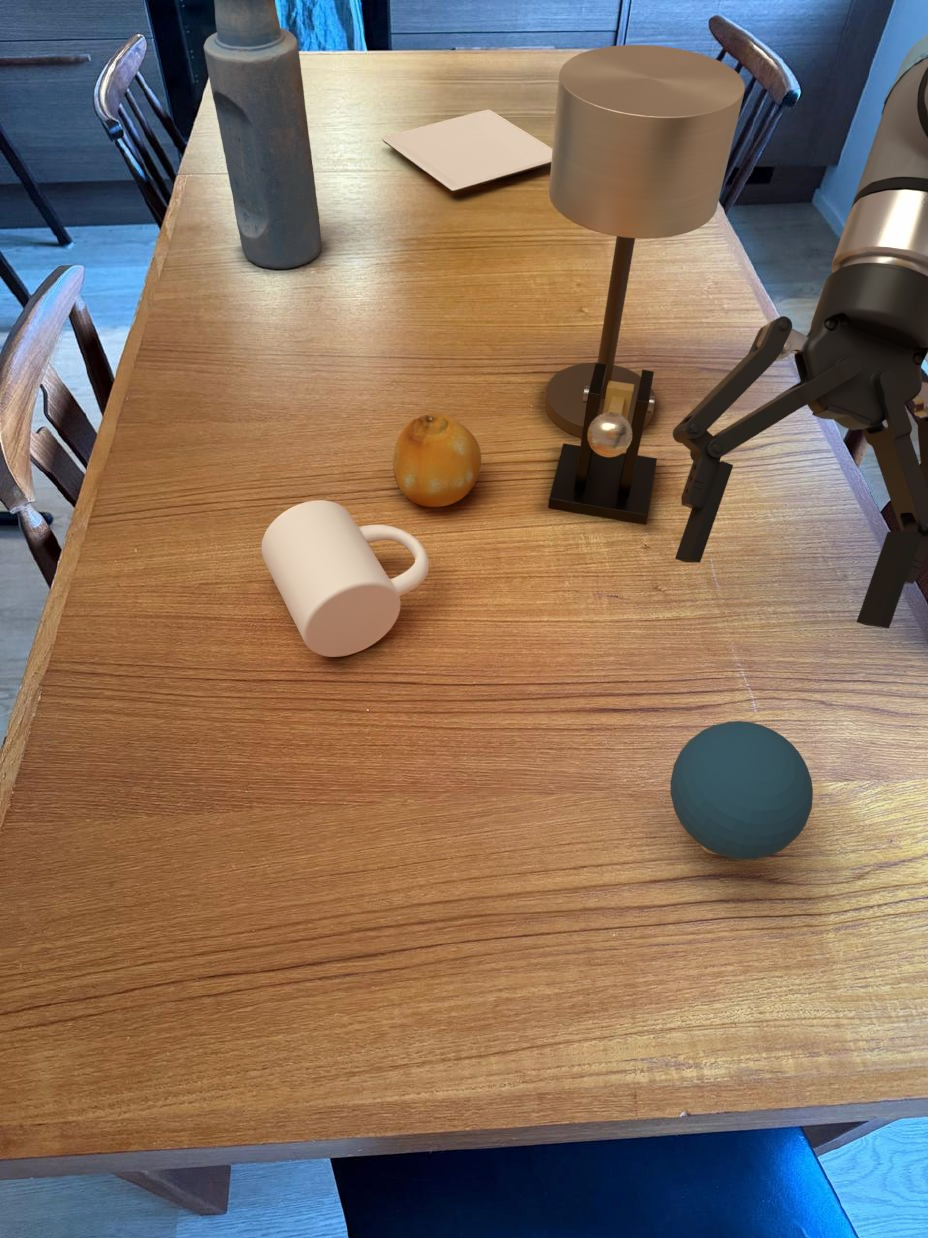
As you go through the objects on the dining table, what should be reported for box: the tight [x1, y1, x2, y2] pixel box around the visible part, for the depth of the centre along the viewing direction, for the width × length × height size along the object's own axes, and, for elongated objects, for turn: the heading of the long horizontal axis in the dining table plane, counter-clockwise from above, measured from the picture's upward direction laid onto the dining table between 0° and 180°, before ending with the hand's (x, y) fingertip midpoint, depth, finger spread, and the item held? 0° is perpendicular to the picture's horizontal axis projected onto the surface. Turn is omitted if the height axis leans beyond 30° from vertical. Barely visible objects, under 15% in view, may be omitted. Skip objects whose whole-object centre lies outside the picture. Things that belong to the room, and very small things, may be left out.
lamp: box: [544, 44, 746, 439], centre depth 80 cm, size 14×14×30 cm
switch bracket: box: [547, 362, 658, 526], centre depth 79 cm, size 8×9×12 cm
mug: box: [260, 499, 430, 658], centre depth 71 cm, size 12×10×8 cm
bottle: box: [203, 0, 323, 270], centre depth 98 cm, size 10×10×30 cm
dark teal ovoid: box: [669, 720, 814, 861], centre depth 57 cm, size 8×8×12 cm
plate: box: [381, 109, 553, 193], centre depth 126 cm, size 19×19×2 cm
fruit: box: [392, 413, 482, 508], centre depth 81 cm, size 8×8×8 cm
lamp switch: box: [587, 381, 634, 457], centre depth 70 cm, size 16×3×3 cm, turn 167°
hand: (780, 594), depth 59 cm, fingers open, 13 cm apart
